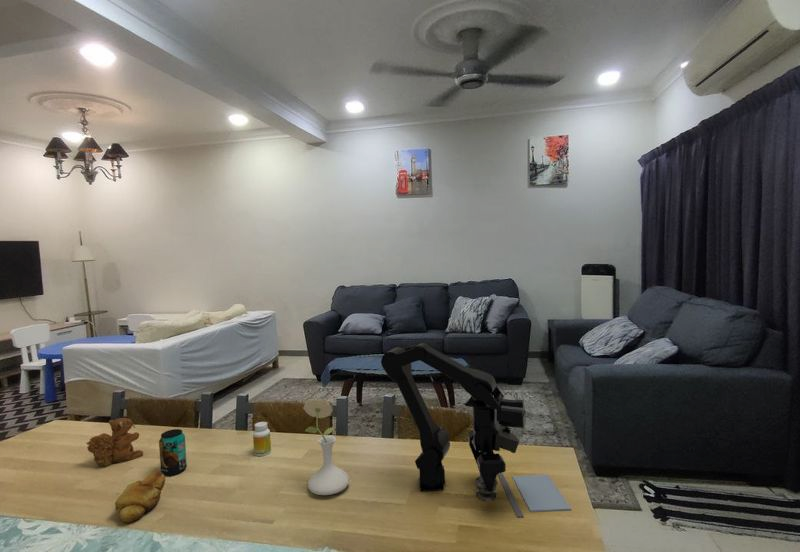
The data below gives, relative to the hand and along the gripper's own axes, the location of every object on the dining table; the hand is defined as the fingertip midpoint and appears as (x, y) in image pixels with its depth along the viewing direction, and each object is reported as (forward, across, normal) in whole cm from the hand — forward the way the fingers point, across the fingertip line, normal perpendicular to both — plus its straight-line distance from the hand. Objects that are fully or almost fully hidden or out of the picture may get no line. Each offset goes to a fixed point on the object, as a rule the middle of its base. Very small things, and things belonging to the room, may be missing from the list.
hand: (486, 481), depth 111 cm
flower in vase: (+4, +7, +43) cm, 44 cm away
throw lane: (+4, 0, -12) cm, 13 cm away
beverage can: (+4, +20, +92) cm, 94 cm away
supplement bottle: (+4, +30, +68) cm, 74 cm away
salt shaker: (+4, 0, 0) cm, 4 cm away
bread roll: (+4, 0, +91) cm, 91 cm away
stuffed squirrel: (+4, +29, +116) cm, 119 cm away
